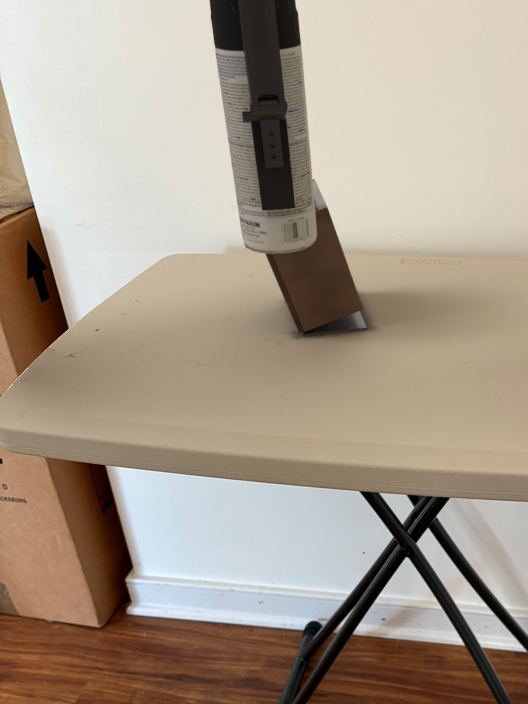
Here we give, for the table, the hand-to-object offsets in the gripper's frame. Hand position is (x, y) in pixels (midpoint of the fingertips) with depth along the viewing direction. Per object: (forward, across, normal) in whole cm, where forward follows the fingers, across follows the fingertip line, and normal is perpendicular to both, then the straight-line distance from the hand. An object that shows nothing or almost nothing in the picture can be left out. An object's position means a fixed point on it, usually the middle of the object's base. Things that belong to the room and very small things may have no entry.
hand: (275, 195), depth 65 cm
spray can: (+4, 0, 0) cm, 4 cm away
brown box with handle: (+18, +20, -5) cm, 27 cm away
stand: (+20, +20, -5) cm, 29 cm away
